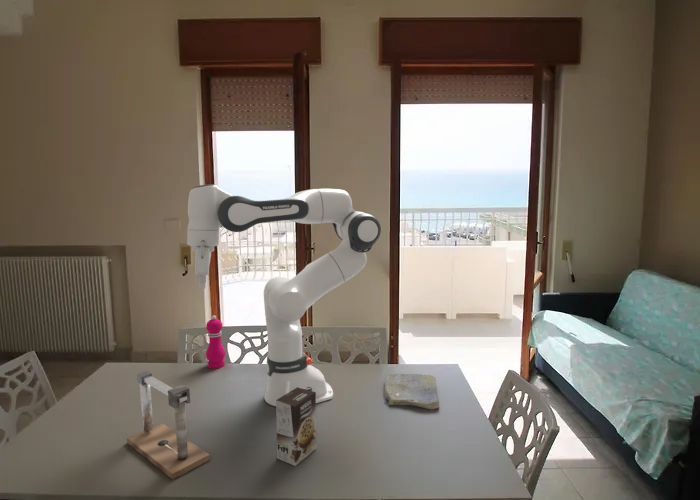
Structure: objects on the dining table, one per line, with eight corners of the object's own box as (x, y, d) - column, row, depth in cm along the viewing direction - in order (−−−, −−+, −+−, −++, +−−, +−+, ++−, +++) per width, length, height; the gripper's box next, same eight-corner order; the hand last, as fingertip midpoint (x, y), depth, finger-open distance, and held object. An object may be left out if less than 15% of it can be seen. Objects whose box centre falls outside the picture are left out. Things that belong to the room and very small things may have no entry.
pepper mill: (220, 369, 171) (218, 318, 168) (202, 368, 172) (200, 317, 169) (229, 362, 178) (227, 313, 175) (212, 361, 179) (209, 312, 176)
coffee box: (296, 467, 113) (294, 406, 110) (276, 458, 116) (274, 399, 114) (317, 448, 120) (316, 391, 118) (298, 441, 124) (297, 385, 121)
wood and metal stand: (127, 442, 123) (121, 374, 120) (162, 427, 131) (157, 362, 128) (172, 479, 108) (167, 401, 105) (209, 460, 116) (205, 386, 113)
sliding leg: (141, 431, 125) (136, 374, 123) (150, 427, 127) (146, 370, 125) (181, 461, 112) (177, 398, 109) (192, 456, 114) (188, 393, 111)
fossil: (384, 412, 141) (440, 412, 139) (383, 398, 141) (439, 398, 139) (385, 386, 161) (435, 385, 159) (385, 373, 161) (434, 372, 159)
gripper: (214, 242, 124) (213, 292, 126) (214, 237, 144) (213, 280, 145) (190, 242, 122) (189, 292, 124) (193, 236, 142) (192, 280, 143)
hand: (202, 285), depth 135 cm, fingers open, 8 cm apart
